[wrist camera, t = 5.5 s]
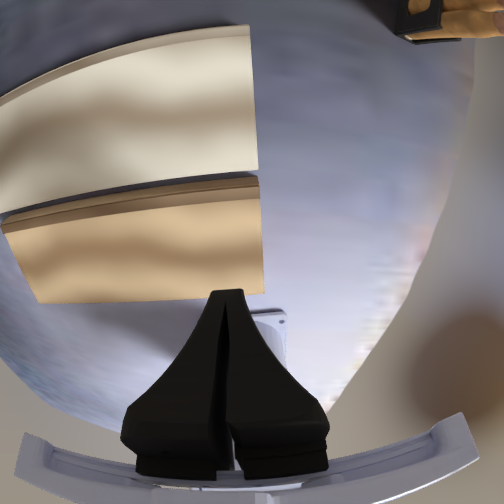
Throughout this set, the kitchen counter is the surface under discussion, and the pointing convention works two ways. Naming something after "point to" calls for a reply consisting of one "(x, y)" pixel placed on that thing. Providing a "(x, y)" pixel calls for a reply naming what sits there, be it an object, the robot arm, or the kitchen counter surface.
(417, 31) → the ammunition clip
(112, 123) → the plank
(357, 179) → the kitchen counter surface
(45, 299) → the laid plank
